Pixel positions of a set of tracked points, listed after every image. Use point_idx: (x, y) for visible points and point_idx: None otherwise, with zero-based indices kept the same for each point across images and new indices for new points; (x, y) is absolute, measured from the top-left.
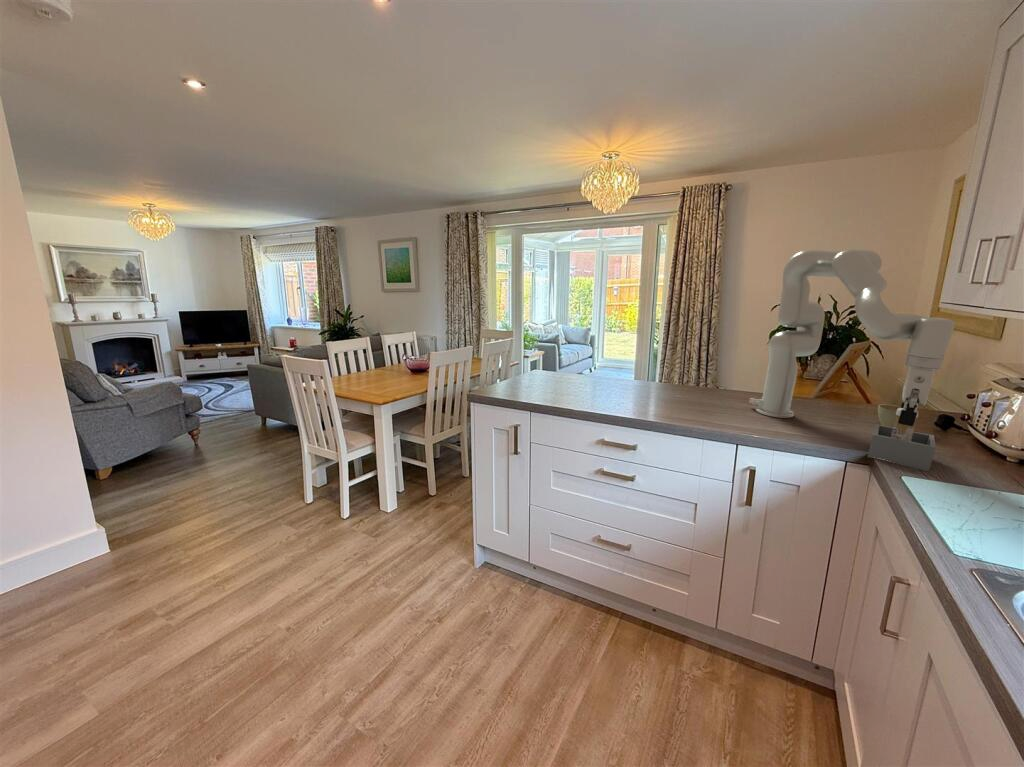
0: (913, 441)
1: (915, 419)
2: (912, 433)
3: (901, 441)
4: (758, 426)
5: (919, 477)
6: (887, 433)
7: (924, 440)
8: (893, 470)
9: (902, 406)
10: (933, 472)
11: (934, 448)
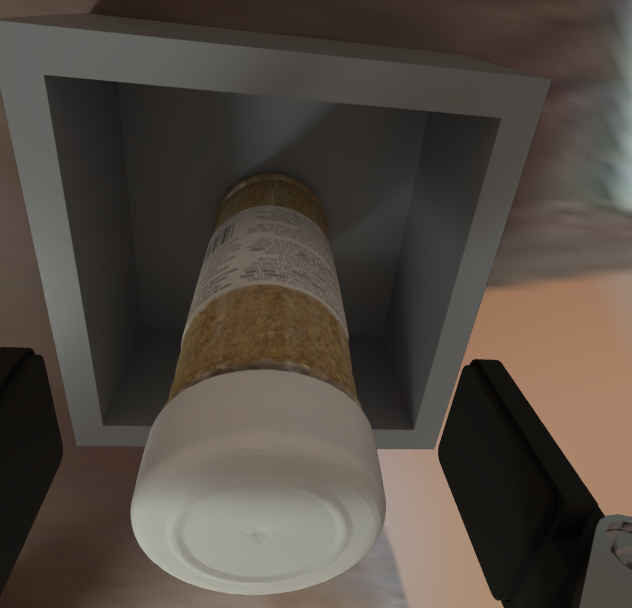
0: (94, 163)
1: (322, 370)
2: (294, 260)
3: (475, 308)
4: None
5: (608, 123)
6: (110, 340)
7: (74, 92)
8: (551, 240)
9: (9, 569)
10: (456, 22)
11: (544, 86)
